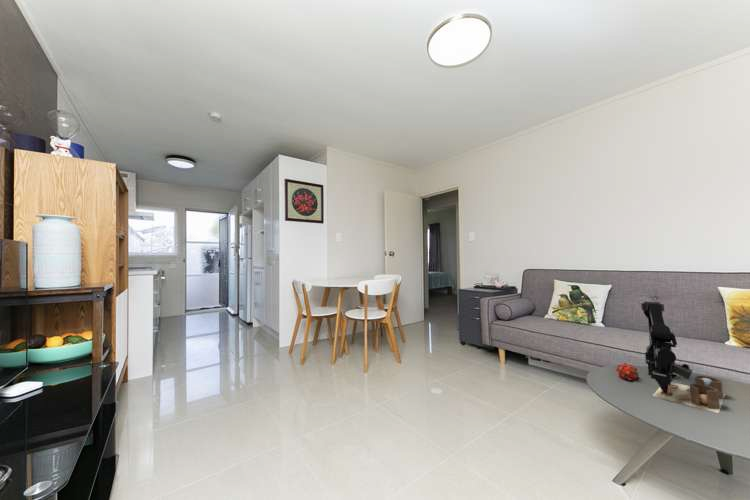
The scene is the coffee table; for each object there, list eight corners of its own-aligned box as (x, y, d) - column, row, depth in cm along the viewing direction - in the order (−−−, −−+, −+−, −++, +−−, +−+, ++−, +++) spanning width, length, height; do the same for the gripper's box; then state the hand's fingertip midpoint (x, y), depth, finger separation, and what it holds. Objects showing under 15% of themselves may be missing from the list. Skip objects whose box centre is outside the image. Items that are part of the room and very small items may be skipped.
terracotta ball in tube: (697, 404, 117) (696, 394, 117) (698, 401, 119) (697, 391, 120) (712, 407, 114) (711, 397, 114) (713, 404, 116) (712, 394, 116)
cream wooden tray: (652, 396, 125) (650, 379, 126) (665, 381, 140) (663, 366, 141) (718, 414, 110) (716, 394, 110) (725, 395, 125) (723, 378, 125)
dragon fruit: (630, 378, 149) (630, 389, 140) (612, 366, 153) (611, 376, 145) (642, 368, 145) (642, 379, 136) (623, 356, 150) (622, 366, 141)
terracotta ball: (659, 392, 127) (658, 383, 127) (661, 390, 129) (660, 381, 130) (672, 395, 124) (671, 386, 124) (673, 393, 126) (673, 384, 126)
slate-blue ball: (705, 379, 127) (695, 379, 128) (712, 376, 124) (702, 376, 125) (711, 389, 125) (700, 388, 125) (718, 386, 122) (708, 385, 122)
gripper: (685, 366, 116) (689, 404, 115) (692, 356, 126) (696, 391, 125) (648, 359, 125) (652, 394, 124) (658, 351, 135) (661, 383, 135)
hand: (666, 391), depth 127 cm, fingers closed on terracotta ball, 4 cm apart
